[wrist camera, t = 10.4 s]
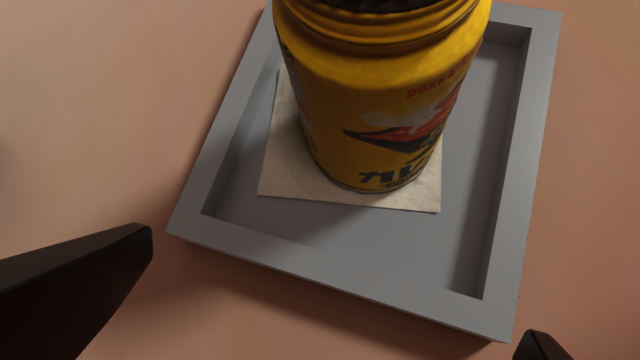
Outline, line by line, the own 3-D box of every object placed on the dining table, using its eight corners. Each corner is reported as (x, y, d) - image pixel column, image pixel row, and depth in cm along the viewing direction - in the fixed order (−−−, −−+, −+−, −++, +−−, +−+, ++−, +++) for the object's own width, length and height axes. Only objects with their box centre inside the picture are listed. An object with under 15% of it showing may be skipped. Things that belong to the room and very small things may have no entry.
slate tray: (493, 341, 16) (510, 344, 14) (184, 240, 19) (164, 231, 17) (544, 40, 20) (562, 12, 19) (289, -5, 23) (282, -33, 21)
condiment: (439, 213, 17) (579, 19, 6) (257, 195, 19) (99, 5, 7) (443, 75, 20) (550, -245, 9) (282, 67, 21) (190, -224, 10)
